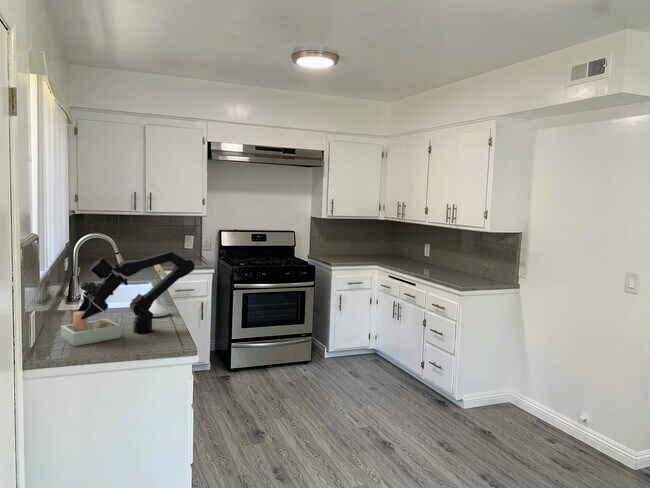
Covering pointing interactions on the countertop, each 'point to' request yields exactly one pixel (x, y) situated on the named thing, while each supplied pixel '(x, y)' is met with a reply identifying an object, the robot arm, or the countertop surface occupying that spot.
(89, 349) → the countertop surface
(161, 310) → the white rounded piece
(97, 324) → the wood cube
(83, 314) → the robot arm
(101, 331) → the tote
